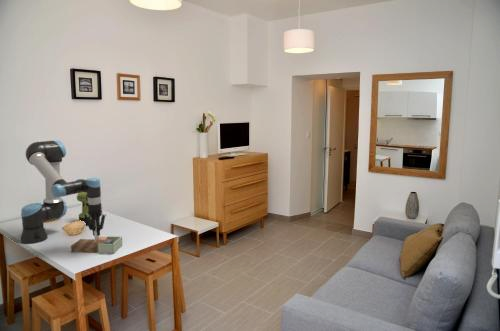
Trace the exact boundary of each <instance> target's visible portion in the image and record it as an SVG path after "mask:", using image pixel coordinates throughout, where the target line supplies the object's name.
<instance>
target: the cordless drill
mask: <svg viewBox="0 0 500 331" xmlns="http://www.w3.org/2000/svg"><path fill="white" fill-rule="evenodd" d="M76 200H77V201H78V202H81V203H82V207H81V211H82V212H81V213H79V214H78V221H79V220H81V221H84V222H85V223H86V227H89V226H88V223H87V220H86V218H85V216H84V215H86V214H87V213H88V211H89V210H88V198H87V193H85V192H81V193H77V195H76ZM90 219H91V217H90ZM91 222H92V220H91Z"/></svg>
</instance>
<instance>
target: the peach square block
mask: <svg viewBox="0 0 500 331" xmlns="http://www.w3.org/2000/svg"><path fill="white" fill-rule="evenodd" d="M107 240H108V237H107V236H99V238H98V239H96V244H104V242H105V241H107Z"/></svg>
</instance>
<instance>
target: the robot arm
mask: <svg viewBox="0 0 500 331" xmlns="http://www.w3.org/2000/svg"><path fill="white" fill-rule="evenodd" d="M66 155H67V150H66V147H65V145H64V143H63V142H62V141H61V140H46V141H45V140H44V141H34V142H32V143H31V144H29V145H28V147H26V150H25V158H26V160H27V161H28V163H29V164H30V165H31V166H34V167H35V168H36V169H37V170H38V172H39V173H40V174H41V175H42V176H43V178H44V180H45V181H44V182H45V197H44V199H43V201H42V202H43V203H40V202H35V203H34V202H33V203H29V204H26V205H24V206H23V207H22V208H21V213H20V215H21V224H22V231H21V232H22V233H21V236H20V243H22V244H26V245H27V244H36V243H37V244H38V243H41V242H44V241H46V240H47V239H48V238H49V237H48V233H47V231H46V229H45V227H44V222H48V221H52V220H57V219H59V218H63V217H64V216H65V215H66V213H67V211H68V206H67V205H66V202H65V200H64V199H63V198H62V197H66V196H67V197H68V196H71V195H76V194H77V195H78V193H81V192H85V193H87V198H88V210H89V211H88V213H87V214H86V215H84V216H85V218H86V220H87V223H88V226H87V227H88V229H89V230H90V231H92V235H93V236H94V239H95V241H96V239H98V238H99V237H100V236H101V230H103V229H104V224H105V220H106V218H107V214H106V213H104V212H103V211H102V210H103V207H102V196H101V194H102V192H101V188H102V187H101V180H100V178H99V177H89V178H87V179H83V178H77V179H76V180H74V181H73V180H72V181H68V182H67V181H66V180H65V179H64V178H63V177H62V176H61V172H60V171H61V168H60V167H61V166H60V164H61V163H62V162H63V158H65V157H66ZM90 217H91V219H90ZM91 220H92V222H91Z"/></svg>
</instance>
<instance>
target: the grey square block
mask: <svg viewBox="0 0 500 331" xmlns="http://www.w3.org/2000/svg"><path fill="white" fill-rule="evenodd" d="M104 244H113V240H112V239H108V240H107V241H105V242H104Z"/></svg>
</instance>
